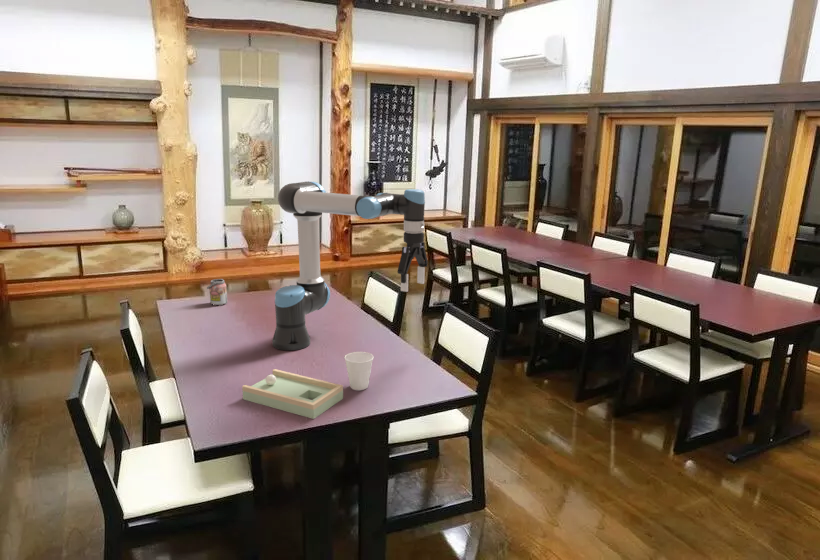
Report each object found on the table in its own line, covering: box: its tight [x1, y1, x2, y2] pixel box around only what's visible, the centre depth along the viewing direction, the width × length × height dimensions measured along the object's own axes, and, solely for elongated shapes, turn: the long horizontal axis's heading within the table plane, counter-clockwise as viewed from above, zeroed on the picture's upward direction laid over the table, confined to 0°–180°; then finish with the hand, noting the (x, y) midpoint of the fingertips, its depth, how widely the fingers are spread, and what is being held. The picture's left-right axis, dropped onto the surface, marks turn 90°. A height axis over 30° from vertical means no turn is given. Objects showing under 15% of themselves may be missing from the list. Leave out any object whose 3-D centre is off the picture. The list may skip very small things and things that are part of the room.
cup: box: [343, 351, 375, 391], centre depth 196 cm, size 10×10×11 cm
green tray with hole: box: [242, 368, 344, 419], centre depth 188 cm, size 28×16×5 cm, turn 63°
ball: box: [264, 373, 276, 385], centre depth 191 cm, size 4×4×4 cm
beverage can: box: [206, 278, 228, 306], centre depth 289 cm, size 9×8×12 cm
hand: (412, 287), depth 220 cm, fingers open, 13 cm apart
